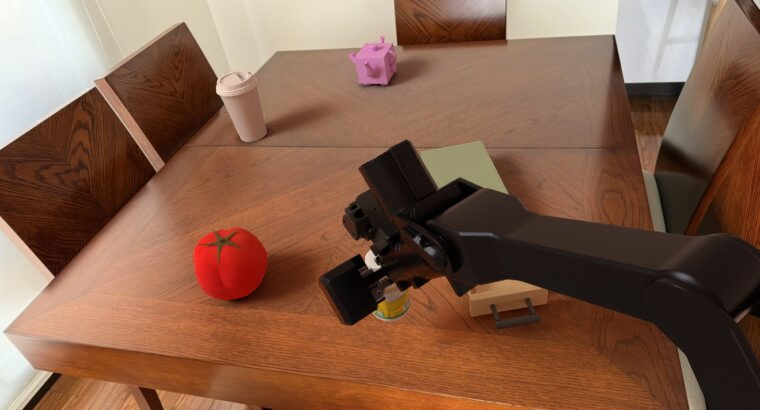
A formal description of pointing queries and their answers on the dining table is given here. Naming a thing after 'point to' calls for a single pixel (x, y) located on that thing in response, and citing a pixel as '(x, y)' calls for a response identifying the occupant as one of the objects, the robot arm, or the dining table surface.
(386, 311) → the supplement bottle
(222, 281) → the tomato
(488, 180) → the cabinet
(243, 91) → the coffee cup
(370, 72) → the teapot
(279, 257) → the dining table surface
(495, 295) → the drawer
